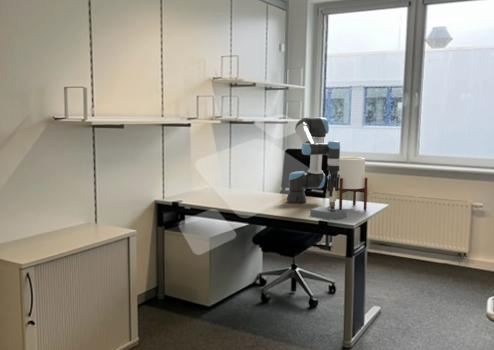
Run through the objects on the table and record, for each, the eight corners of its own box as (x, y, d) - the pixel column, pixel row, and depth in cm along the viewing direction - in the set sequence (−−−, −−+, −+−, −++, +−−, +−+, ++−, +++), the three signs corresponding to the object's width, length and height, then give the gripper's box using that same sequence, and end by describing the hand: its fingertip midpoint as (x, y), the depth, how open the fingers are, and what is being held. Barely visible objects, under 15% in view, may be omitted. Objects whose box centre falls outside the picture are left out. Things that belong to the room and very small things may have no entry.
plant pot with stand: (369, 210, 340) (370, 159, 335) (338, 211, 335) (340, 159, 331) (355, 204, 361) (357, 156, 357) (327, 205, 357) (328, 156, 353)
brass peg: (329, 208, 316) (329, 187, 314) (331, 208, 318) (332, 187, 316) (333, 209, 314) (333, 187, 312) (335, 208, 316) (336, 187, 314)
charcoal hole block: (310, 215, 320) (310, 209, 320) (320, 212, 329) (320, 207, 329) (337, 219, 308) (337, 213, 307) (346, 216, 317) (346, 210, 316)
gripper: (332, 166, 304) (331, 203, 307) (344, 164, 316) (343, 200, 319) (321, 165, 309) (321, 202, 311) (334, 163, 321) (333, 198, 324)
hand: (332, 201), depth 315 cm, fingers closed on brass peg, 3 cm apart
